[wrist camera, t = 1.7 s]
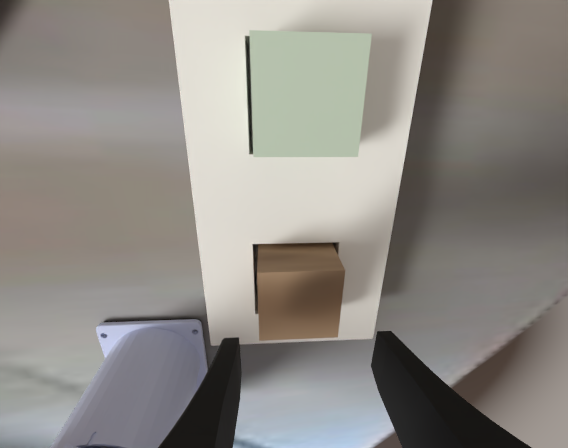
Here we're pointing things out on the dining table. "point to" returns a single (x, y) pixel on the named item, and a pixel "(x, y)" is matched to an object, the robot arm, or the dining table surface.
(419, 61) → the key panel
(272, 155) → the sage key
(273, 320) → the walnut key
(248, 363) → the dining table surface
